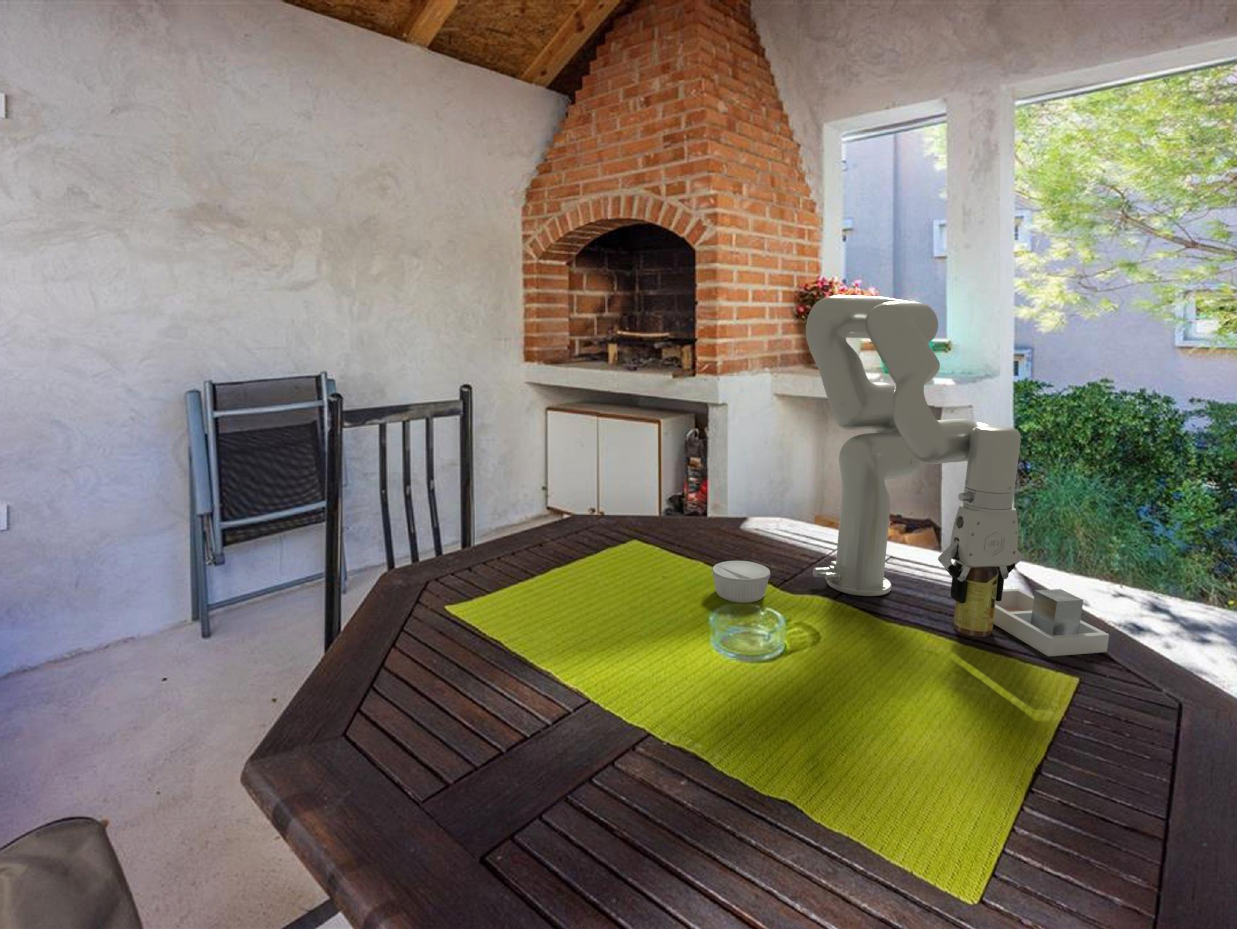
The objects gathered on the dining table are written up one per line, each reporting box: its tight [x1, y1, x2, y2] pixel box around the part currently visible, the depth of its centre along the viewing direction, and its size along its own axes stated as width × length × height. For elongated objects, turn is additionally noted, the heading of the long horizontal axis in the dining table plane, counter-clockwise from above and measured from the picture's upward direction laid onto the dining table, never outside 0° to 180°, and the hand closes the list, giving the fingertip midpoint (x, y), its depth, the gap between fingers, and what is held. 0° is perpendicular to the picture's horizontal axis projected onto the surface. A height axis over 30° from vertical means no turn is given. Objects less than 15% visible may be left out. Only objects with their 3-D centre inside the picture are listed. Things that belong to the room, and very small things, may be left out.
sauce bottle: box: [953, 565, 999, 638], centre depth 128 cm, size 7×6×20 cm
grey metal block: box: [1030, 588, 1084, 636], centre depth 126 cm, size 5×5×8 cm
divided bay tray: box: [993, 588, 1110, 657], centre depth 131 cm, size 21×11×4 cm, turn 11°
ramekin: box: [711, 560, 771, 604], centre depth 147 cm, size 11×11×5 cm
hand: (975, 598), depth 129 cm, fingers closed on sauce bottle, 6 cm apart
